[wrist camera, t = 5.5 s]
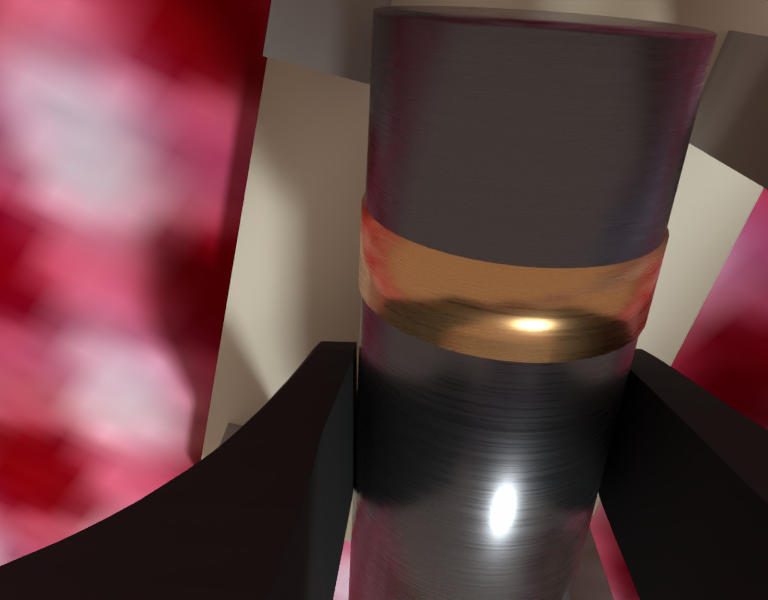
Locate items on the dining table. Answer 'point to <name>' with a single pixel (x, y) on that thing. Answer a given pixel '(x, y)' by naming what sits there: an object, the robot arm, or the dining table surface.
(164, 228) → the dining table surface
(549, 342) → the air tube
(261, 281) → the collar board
